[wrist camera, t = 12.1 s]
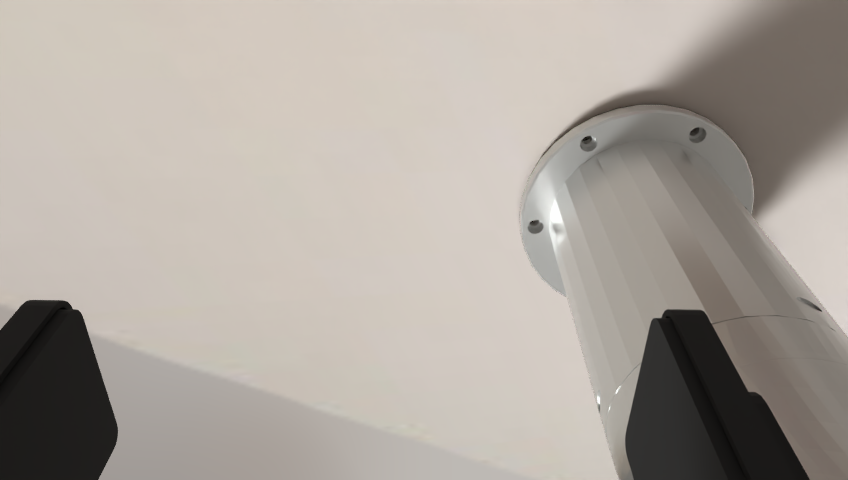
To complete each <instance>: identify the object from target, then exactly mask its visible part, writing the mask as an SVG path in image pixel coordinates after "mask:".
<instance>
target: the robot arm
mask: <svg viewBox="0 0 848 480" xmlns="http://www.w3.org/2000/svg"><path fill="white" fill-rule="evenodd" d="M694 128H696V130H695V131H694V132H691V131H692V130H693V129H694ZM587 136H590V138H589V139H588V140H586V141H583V140H582V139H583V138H584V137H587ZM753 203H754V187H753V177H752V174H751V171H750V169H749V166H748V163H747V160H746V158H745V157H744V155H743V154H742V152H741V151H740V149H739V148H738V146H737V145H736V143H735V142H734V141H733V140H732V139H731V138H730V137H729V136H728V135H727V134H726V133H725V131H724V130H723V129H721V128H720V127H718V126H717V125H716V124H714V123H713V122H711V121H710V120H709V119H707V118H706V117H703V116H701V115H699V114H696V113H694V112H691V111H689V110H687V109H682V108H677V107H672V106H667V105H636V106H630V107H624V108H618V109H615V110H612V111H609V112H606V113H603V114H601V115H598V116H595V117H593V118H591V119H589V120H587V121H586V122H584V123H582V124H580V125H578V126H576V127H575V128H573V129H572V130H570V131H569V132H568V133H567V134H565V135H564V136H563V137H562V138H560V139H559V140H558V141H556V142H555V143H554V144H553V145H552V147H551V148H550V149H549V150H548V151H547V152H546V153H545V154H544V156H543V157H542V158H541V159H540V160H539V162H538V164H537V165H536V167H535V168H534V170H533V172H532V173H531V175H530V177H529V179H528V181H527V184H526V187H525V190H524V192H523V195H522V200H521V207H520V214H519V218H520V231H521V237H522V241H523V245H524V250H525V252H526V254H527V256H528V259H529V261H530V263H531V265H532V267H533V268H534V269H535V271H536V272H537V273H538V275H539V276H540V277H541V279H542V280H543V281H544V282H546V283H547V284H548V285H549V286H550V287H551V288H552V289H554V290H555V291H556V292H558V293H560V294H561V295H563V296H565V297H567V299H568V303H569V307H570V310H571V314H572V317H573V321H574V324H575V328H576V332H577V335H578V339H579V342H580V346H581V349H582V353H583V357H584V360H585V364H586V367H587V371H588V374H589V378H590V382H591V385H592V389H593V392H594V396H595V399H596V403H597V407H598V410H599V414H600V417H601V421H602V424H603V428H604V432H605V435H606V439H607V442H608V446H609V449H610V452H611V456H612V459H613V463H614V466H615V470H616V472H617V475H618V478H619V480H848V337H847V336H846V334H845V333H844V332H843V330H842V329H841V328H840V327H839V325H838V324H837V323H836V322H835V320H834V319H833V318H832V317H831V315H830V314H829V313H828V312H827V310H826V309H825V308H824V307H823V305H822V304H821V303H820V301H819V300H818V299H817V298H816V296H815V295H814V294H813V293H812V291H811V290H810V289H809V288H808V286H807V285H806V284H805V283H804V281H803V280H802V279H801V278H800V276H799V275H798V274H797V272H796V271H795V270H794V269H793V267H792V266H791V265H790V264H789V262H788V261H787V260H786V259H785V257H784V256H783V255H782V254H781V252H780V251H779V250H778V249H777V247H776V246H775V245H774V243H773V242H772V241H771V240H770V238H769V237H768V236H767V235H766V233H765V232H764V231H763V230H762V228H761V227H760V226H759V225H758V223H757V222H756V221H755V220H754V218H753V217H752V210H753ZM534 220H537V221H535V222H531V221H534ZM117 436H118V427H117V423H116V420H115V417H114V413H113V410H112V407H111V404H110V401H109V398H108V394H107V391H106V388H105V385H104V382H103V379H102V376H101V373H100V369H99V366H98V363H97V360H96V357H95V354H94V350H93V347H92V344H91V341H90V338H89V335H88V332H87V328H86V325H85V322H84V319H83V316H82V314H81V312H80V311H79V310H73V309H72V307H71V305H70V304H69V303H68V302H66V301H59V300H30V301H26V302H25V303H24V304H23V305H21V307H20V308H19V309H18V310H17V311H16V312H15V314H14V315H13V316H12V318H10V320H9V321H8V322H7V323H6V324H5V325H4V327H3V328H2V329H1V330H0V480H98V479H99V477H100V475H101V473H102V471H103V469H104V467H105V465H106V463H107V461H108V459H109V457H110V456H111V454H112V452H113V449H114V447H115V445H116V441H117Z"/></svg>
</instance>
